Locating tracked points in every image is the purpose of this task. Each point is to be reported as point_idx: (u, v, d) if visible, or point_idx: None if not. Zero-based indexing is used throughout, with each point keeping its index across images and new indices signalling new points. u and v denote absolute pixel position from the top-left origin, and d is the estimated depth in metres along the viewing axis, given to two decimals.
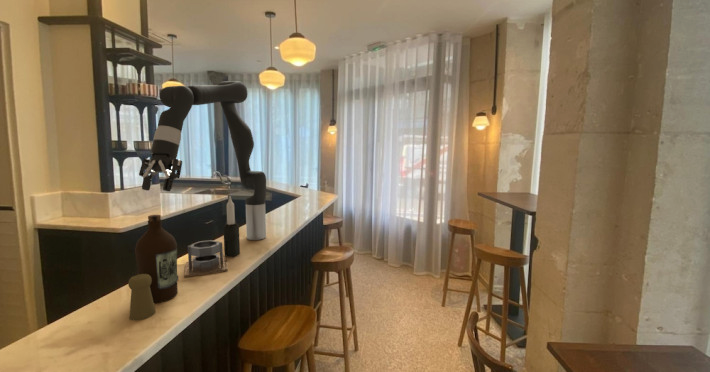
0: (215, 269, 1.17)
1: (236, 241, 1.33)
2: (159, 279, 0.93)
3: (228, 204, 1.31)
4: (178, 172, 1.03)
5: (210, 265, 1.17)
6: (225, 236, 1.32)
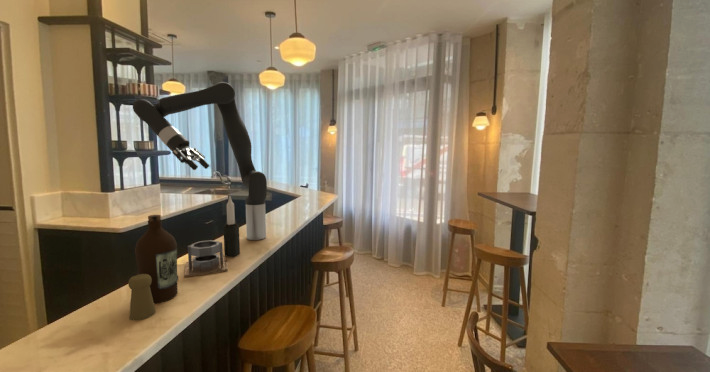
0: (215, 269, 1.17)
1: (236, 241, 1.33)
2: (159, 279, 0.93)
3: (228, 204, 1.31)
4: None
5: (210, 265, 1.17)
6: (225, 236, 1.32)
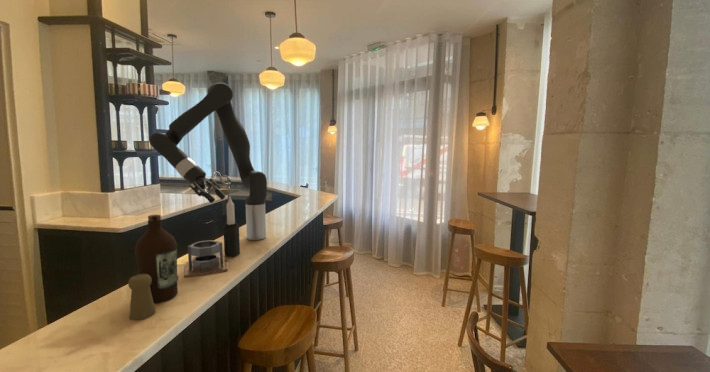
0: (215, 269, 1.17)
1: (236, 241, 1.33)
2: (159, 279, 0.93)
3: (228, 204, 1.31)
4: None
5: (210, 265, 1.17)
6: (225, 236, 1.32)
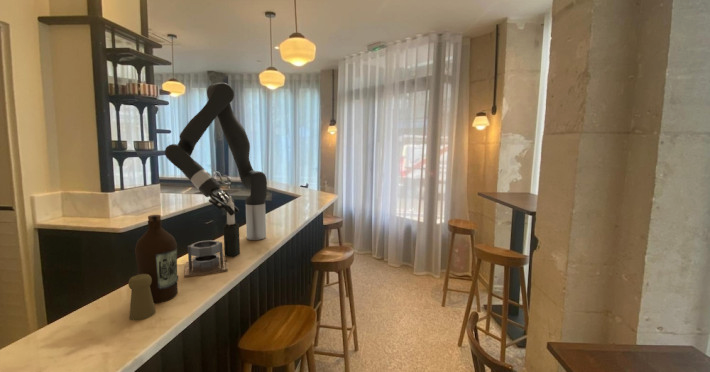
0: (215, 269, 1.17)
1: (236, 241, 1.33)
2: (159, 279, 0.93)
3: (228, 204, 1.31)
4: None
5: (210, 265, 1.17)
6: (225, 236, 1.32)
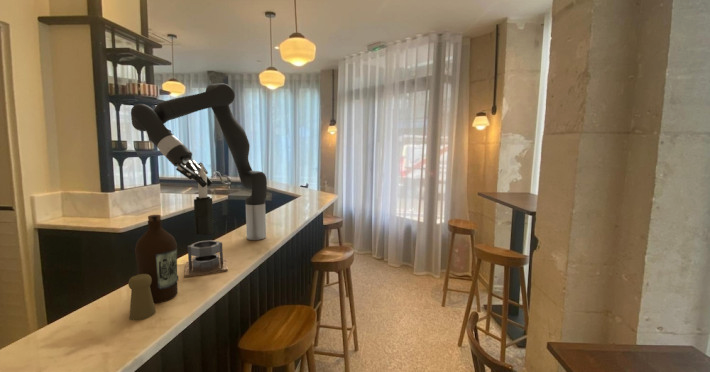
0: (215, 269, 1.17)
1: (208, 217, 1.18)
2: (159, 279, 0.93)
3: (199, 174, 1.16)
4: None
5: (210, 265, 1.17)
6: (196, 211, 1.16)
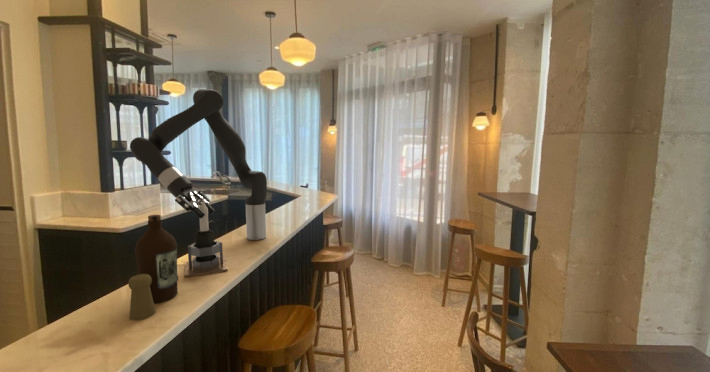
0: (215, 269, 1.17)
1: None
2: (159, 279, 0.93)
3: (201, 209, 1.17)
4: None
5: (210, 265, 1.17)
6: (197, 244, 1.17)
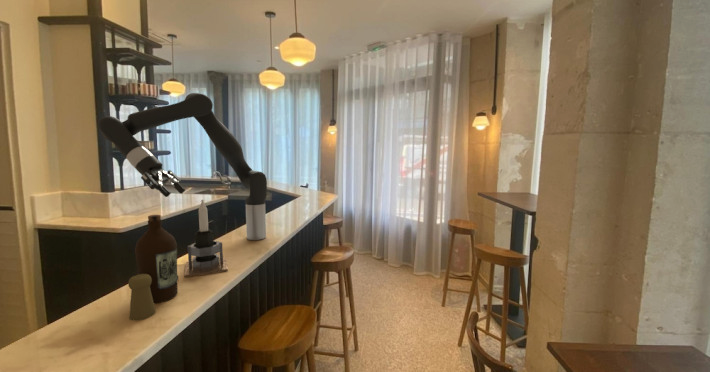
0: (215, 269, 1.17)
1: None
2: (159, 279, 0.93)
3: (200, 209, 1.17)
4: None
5: (210, 265, 1.17)
6: (197, 245, 1.17)
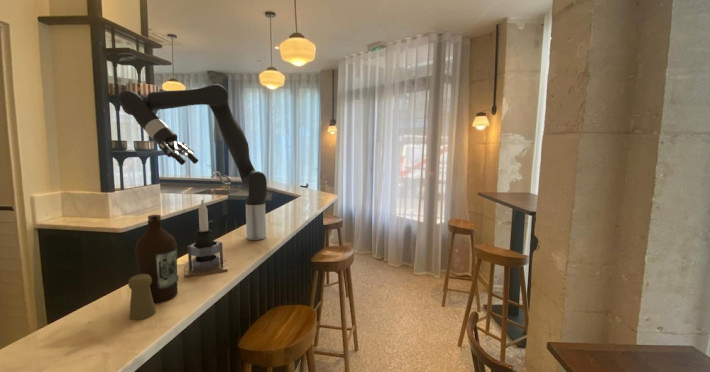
0: (215, 269, 1.17)
1: None
2: (159, 279, 0.93)
3: (200, 209, 1.17)
4: None
5: (210, 265, 1.17)
6: (197, 245, 1.17)
